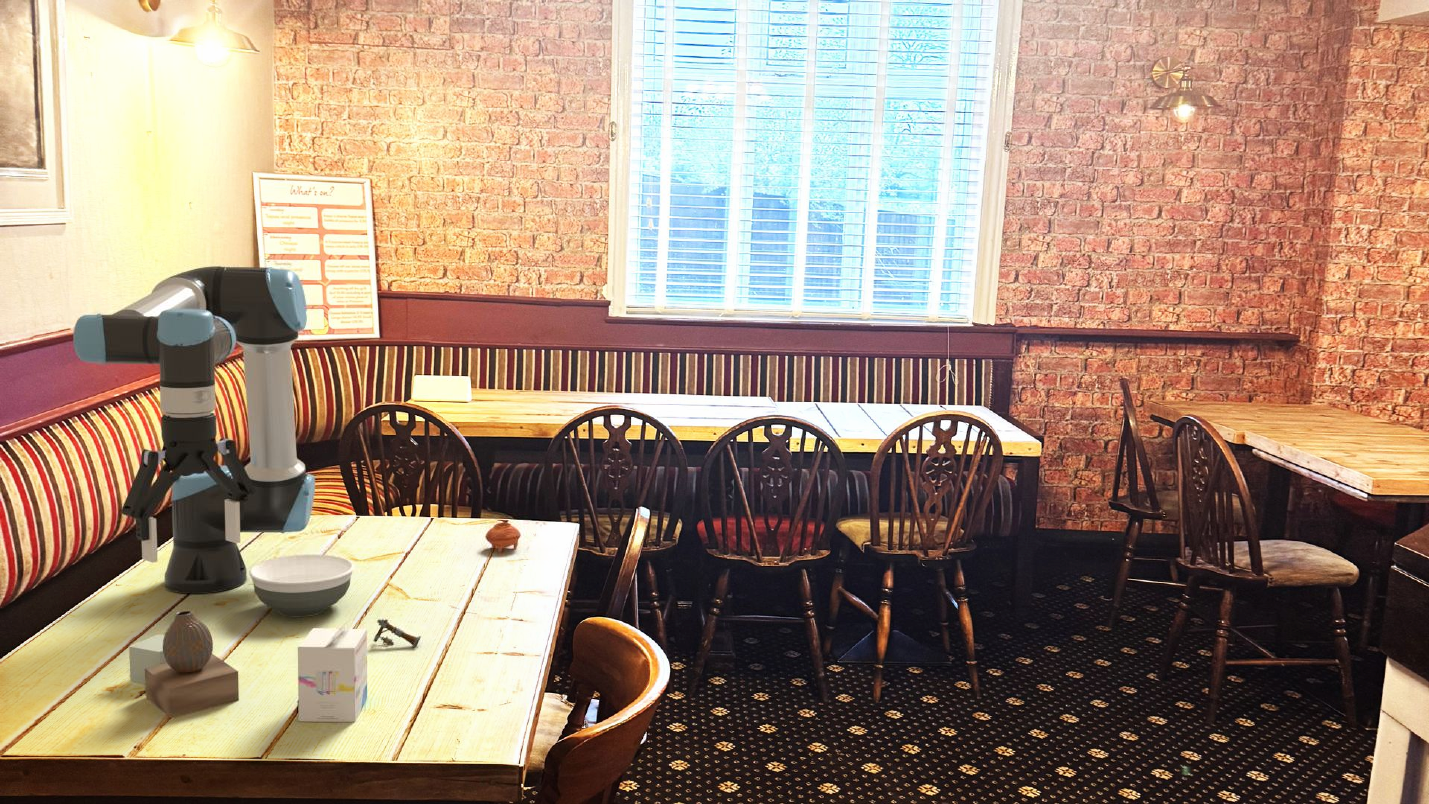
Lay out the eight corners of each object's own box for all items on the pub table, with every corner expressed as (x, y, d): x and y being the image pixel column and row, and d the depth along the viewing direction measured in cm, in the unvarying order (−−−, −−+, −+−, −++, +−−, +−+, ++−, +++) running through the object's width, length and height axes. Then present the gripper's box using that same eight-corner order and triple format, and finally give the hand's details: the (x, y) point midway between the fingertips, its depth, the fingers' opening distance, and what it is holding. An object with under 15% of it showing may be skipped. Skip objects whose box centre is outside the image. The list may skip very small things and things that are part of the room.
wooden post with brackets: (371, 636, 202) (381, 614, 201) (411, 657, 201) (421, 635, 201) (367, 639, 200) (377, 617, 199) (407, 660, 200) (418, 638, 199)
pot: (520, 553, 259) (513, 525, 258) (486, 560, 259) (479, 532, 258) (526, 543, 267) (519, 515, 266) (493, 549, 267) (487, 522, 266)
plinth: (145, 699, 175) (144, 668, 174) (212, 682, 182) (211, 652, 181) (171, 720, 168) (170, 688, 167) (238, 702, 175) (238, 671, 174)
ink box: (312, 699, 176) (311, 615, 174) (368, 699, 177) (367, 616, 175) (297, 722, 168) (296, 635, 166) (355, 722, 169) (355, 636, 167)
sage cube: (130, 682, 180) (129, 646, 179) (159, 669, 186) (158, 634, 185) (160, 688, 178) (159, 652, 177) (189, 675, 184) (188, 639, 183)
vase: (197, 677, 170) (189, 620, 169) (155, 676, 171) (148, 620, 170) (224, 659, 177) (218, 605, 175) (184, 659, 178) (177, 605, 177)
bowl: (255, 631, 204) (254, 587, 203) (245, 600, 221) (244, 559, 219) (363, 619, 213) (362, 576, 212) (345, 590, 229) (344, 550, 228)
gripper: (120, 426, 158) (126, 574, 161) (276, 407, 179) (279, 538, 182) (91, 419, 162) (97, 563, 165) (247, 401, 183) (250, 529, 186)
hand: (192, 550), depth 174 cm, fingers open, 13 cm apart
